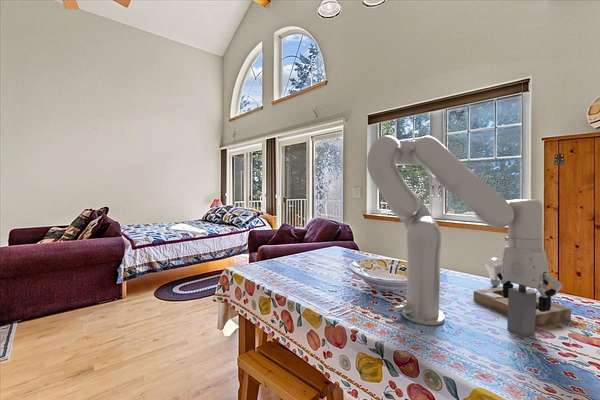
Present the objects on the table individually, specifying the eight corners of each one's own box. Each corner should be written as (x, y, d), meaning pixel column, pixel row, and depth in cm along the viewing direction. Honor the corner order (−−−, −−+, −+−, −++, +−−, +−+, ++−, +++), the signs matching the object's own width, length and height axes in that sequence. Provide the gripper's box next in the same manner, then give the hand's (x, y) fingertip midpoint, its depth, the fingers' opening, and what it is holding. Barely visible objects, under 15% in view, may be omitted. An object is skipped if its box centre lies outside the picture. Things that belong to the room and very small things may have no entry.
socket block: (532, 327, 82) (533, 314, 81) (473, 300, 101) (473, 289, 101) (570, 319, 86) (571, 307, 86) (507, 295, 105) (507, 285, 105)
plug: (523, 337, 76) (524, 283, 76) (507, 329, 81) (508, 278, 80) (534, 334, 78) (536, 282, 77) (518, 327, 82) (520, 277, 81)
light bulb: (509, 290, 110) (510, 260, 109) (489, 289, 111) (490, 259, 111) (500, 284, 117) (501, 256, 116) (482, 283, 118) (482, 255, 117)
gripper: (486, 239, 85) (486, 294, 86) (550, 251, 68) (550, 319, 69) (504, 237, 87) (505, 291, 88) (571, 248, 70) (571, 314, 71)
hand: (525, 303), depth 78 cm, fingers open, 9 cm apart
